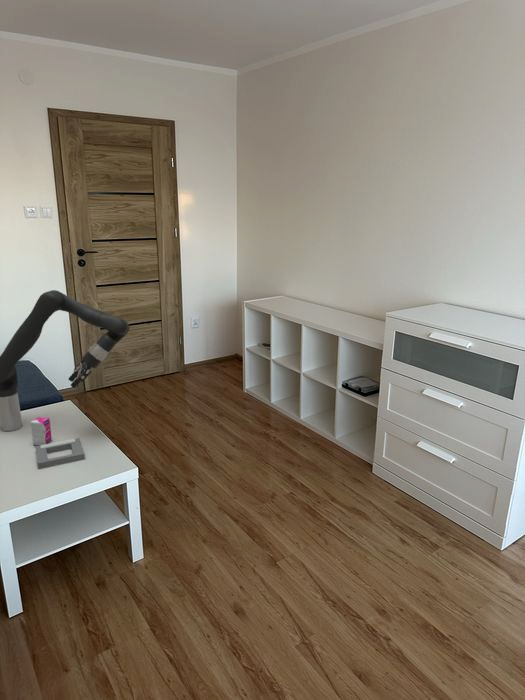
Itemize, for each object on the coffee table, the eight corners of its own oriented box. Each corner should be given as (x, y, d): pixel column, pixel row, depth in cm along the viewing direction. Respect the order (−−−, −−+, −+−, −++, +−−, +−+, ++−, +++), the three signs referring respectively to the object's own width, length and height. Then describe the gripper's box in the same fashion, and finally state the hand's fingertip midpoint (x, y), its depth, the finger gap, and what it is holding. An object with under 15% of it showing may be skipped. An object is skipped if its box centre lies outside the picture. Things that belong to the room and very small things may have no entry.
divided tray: (36, 451, 215) (35, 445, 214) (79, 442, 222) (79, 437, 222) (38, 469, 201) (37, 462, 200) (85, 459, 209) (84, 453, 208)
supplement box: (45, 447, 219) (41, 423, 215) (33, 445, 220) (29, 422, 216) (52, 440, 224) (49, 417, 221) (41, 439, 225) (37, 416, 222)
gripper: (86, 346, 224) (62, 374, 223) (91, 354, 212) (65, 384, 211) (99, 355, 228) (76, 383, 227) (105, 364, 216) (80, 393, 214)
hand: (71, 383), depth 219 cm, fingers open, 8 cm apart
